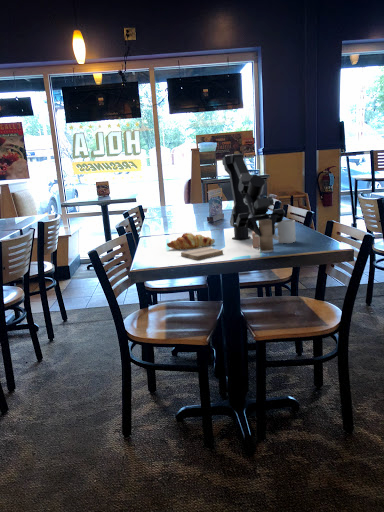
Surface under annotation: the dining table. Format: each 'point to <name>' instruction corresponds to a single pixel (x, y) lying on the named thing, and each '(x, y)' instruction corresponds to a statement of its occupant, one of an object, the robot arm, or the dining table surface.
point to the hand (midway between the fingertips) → (267, 235)
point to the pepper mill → (266, 236)
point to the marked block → (255, 240)
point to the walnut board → (201, 253)
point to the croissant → (190, 242)
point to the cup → (285, 231)
